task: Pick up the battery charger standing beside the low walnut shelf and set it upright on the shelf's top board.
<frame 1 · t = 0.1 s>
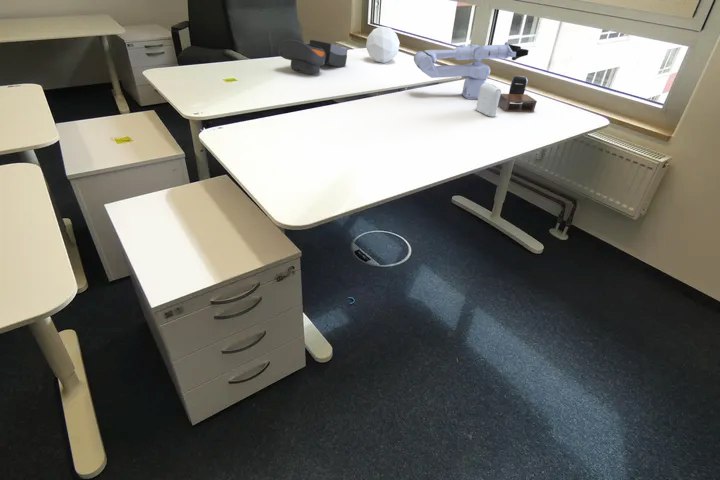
hand: (524, 50, 198), 22 cm above the table, tool horizontal, fingers open, 7 cm apart
photo printer: (485, 113, 188), on the table
geometric orb: (381, 62, 257), on the table
shelf: (514, 108, 197), on the table
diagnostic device: (316, 69, 232), on the table
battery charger: (514, 101, 206), on the table
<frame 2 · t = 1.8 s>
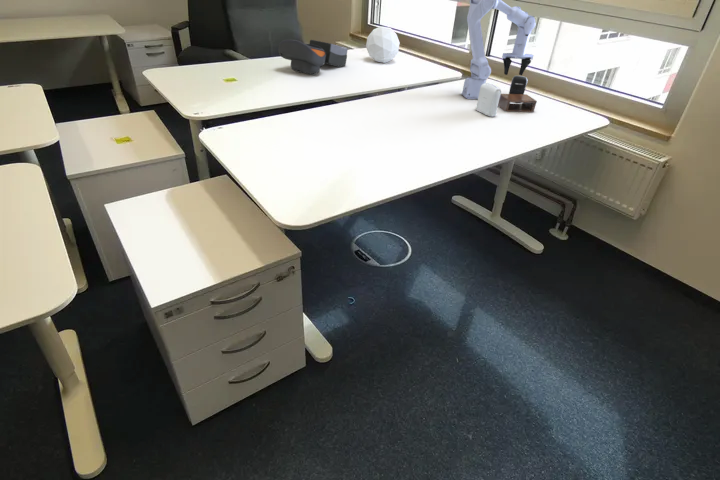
hand: (513, 74, 206), 10 cm above the table, tool pointing down, fingers open, 7 cm apart
nothing on the table moved.
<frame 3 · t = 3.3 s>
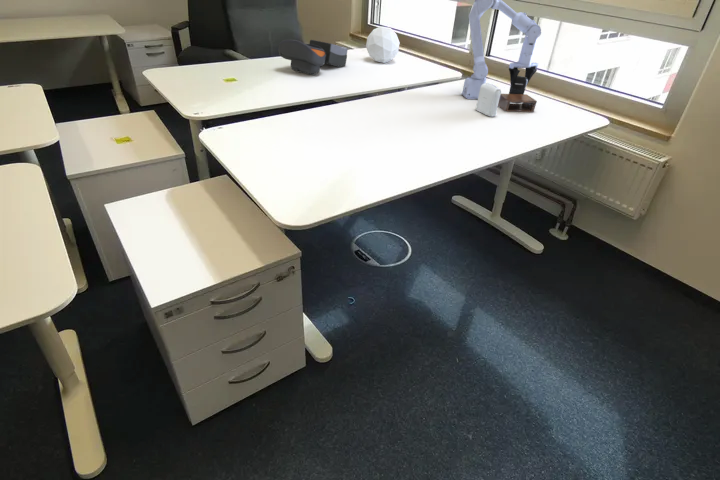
hand: (518, 84, 201), 8 cm above the table, tool pointing down, fingers open, 7 cm apart
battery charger: (514, 101, 206), on the table, touching gripper
everything else where it was.
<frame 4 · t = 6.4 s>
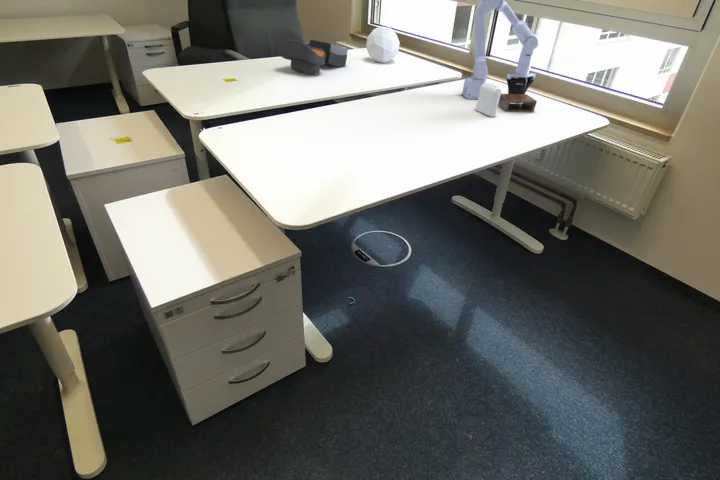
hand: (516, 94, 204), 3 cm above the table, tool pointing down, fingers closed on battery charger, 7 cm apart
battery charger: (513, 101, 206), on the table, touching gripper
everything else where it was.
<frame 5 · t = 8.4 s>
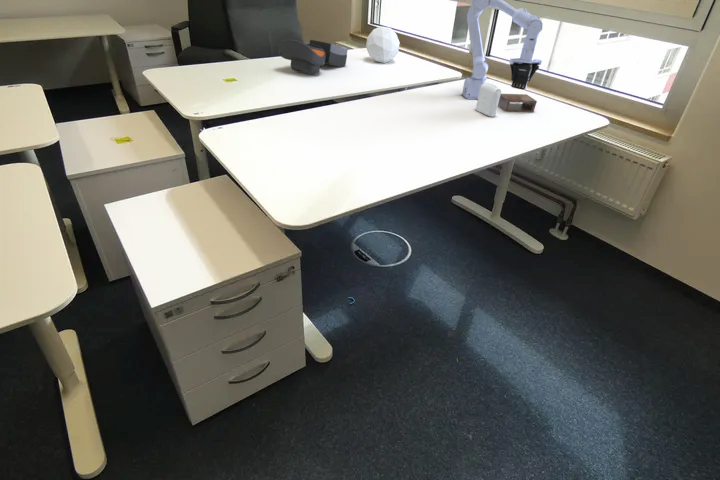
hand: (520, 80, 197), 10 cm above the table, tool pointing down, fingers closed on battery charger, 7 cm apart
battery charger: (517, 88, 199), point 7 cm above the table, touching gripper
everything else where it was.
when the fingers open (8 cm above the table, at t = 10.4 s): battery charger stays where it is, resting on shelf.
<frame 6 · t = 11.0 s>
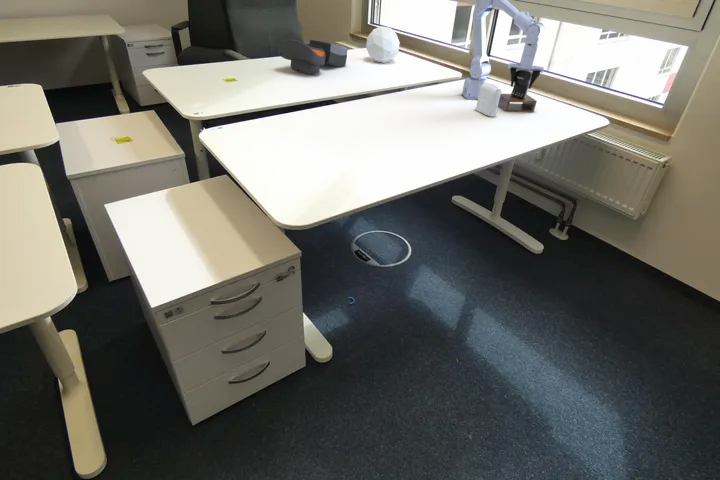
hand: (520, 87, 191), 9 cm above the table, tool pointing down, fingers open, 7 cm apart
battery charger: (517, 97, 194), point 5 cm above the table, touching shelf
everything else where it was.
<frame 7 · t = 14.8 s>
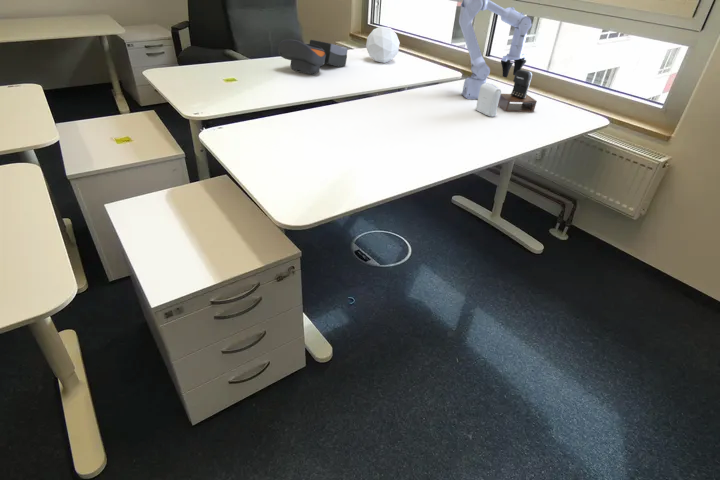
hand: (510, 76, 203), 10 cm above the table, tool pointing down, fingers open, 7 cm apart
nothing on the table moved.
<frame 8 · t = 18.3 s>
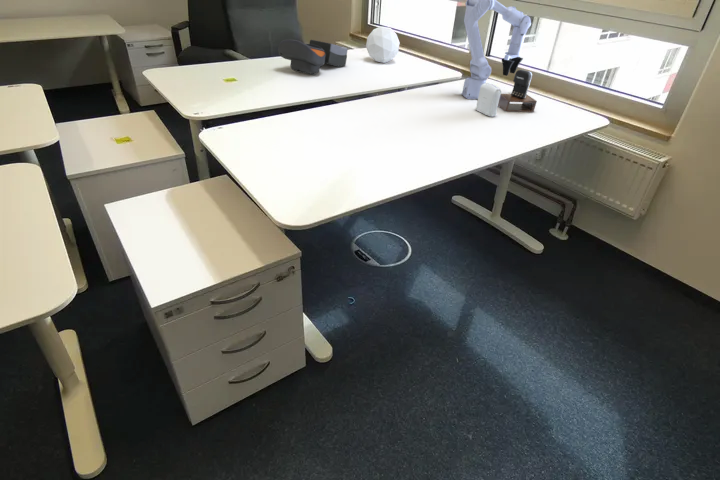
hand: (508, 74, 207), 10 cm above the table, tool pointing down, fingers open, 7 cm apart
nothing on the table moved.
at the end: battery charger inside the target area on the shelf (0.2 cm from its centre), point 4.8 cm above the shelf's base; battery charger tilted 0°; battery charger touching shelf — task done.
